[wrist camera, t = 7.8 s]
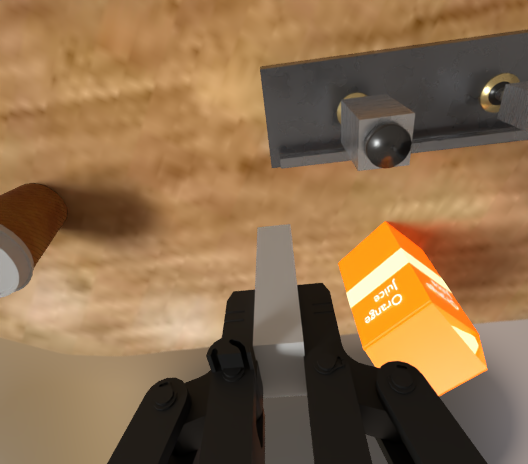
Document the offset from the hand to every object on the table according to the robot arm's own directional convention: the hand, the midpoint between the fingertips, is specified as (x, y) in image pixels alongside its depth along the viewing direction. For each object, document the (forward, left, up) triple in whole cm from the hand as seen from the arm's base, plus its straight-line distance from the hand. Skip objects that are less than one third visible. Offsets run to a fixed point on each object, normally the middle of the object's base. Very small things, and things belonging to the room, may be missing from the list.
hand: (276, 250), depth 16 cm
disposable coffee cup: (+18, +25, -24) cm, 39 cm away
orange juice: (-23, +7, -24) cm, 34 cm away
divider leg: (-6, -6, -22) cm, 23 cm away
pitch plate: (-10, -9, -24) cm, 28 cm away
